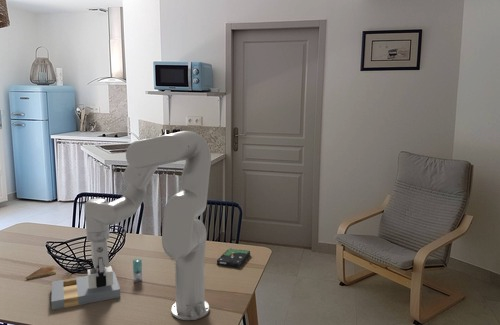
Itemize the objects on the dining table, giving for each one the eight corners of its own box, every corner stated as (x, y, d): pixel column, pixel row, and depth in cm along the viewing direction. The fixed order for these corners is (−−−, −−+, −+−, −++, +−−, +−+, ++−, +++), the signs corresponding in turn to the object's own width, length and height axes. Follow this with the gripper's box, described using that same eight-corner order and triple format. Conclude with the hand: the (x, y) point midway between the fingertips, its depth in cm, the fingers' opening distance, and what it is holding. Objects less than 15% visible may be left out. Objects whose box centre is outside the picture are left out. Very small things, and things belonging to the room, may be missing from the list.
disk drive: (239, 269, 171) (250, 256, 185) (239, 263, 171) (250, 250, 185) (216, 266, 174) (228, 253, 188) (216, 260, 174) (228, 247, 188)
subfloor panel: (120, 297, 146) (120, 289, 146) (52, 310, 137) (51, 301, 136) (114, 278, 160) (114, 271, 160) (52, 289, 151) (51, 281, 151)
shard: (25, 281, 158) (25, 277, 158) (24, 274, 164) (23, 269, 164) (56, 275, 164) (56, 271, 163) (53, 268, 170) (53, 264, 170)
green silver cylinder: (142, 281, 158) (142, 261, 157) (134, 282, 157) (133, 263, 156) (141, 277, 161) (140, 258, 160) (133, 279, 160) (132, 259, 159)
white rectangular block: (113, 284, 146) (112, 270, 145) (89, 288, 142) (88, 274, 142) (111, 278, 150) (111, 265, 149) (88, 282, 147) (87, 268, 146)
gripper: (112, 240, 137) (114, 291, 140) (106, 225, 152) (109, 271, 155) (88, 243, 134) (91, 295, 137) (85, 228, 149) (87, 275, 152)
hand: (100, 282), depth 146 cm, fingers closed on white rectangular block, 5 cm apart
